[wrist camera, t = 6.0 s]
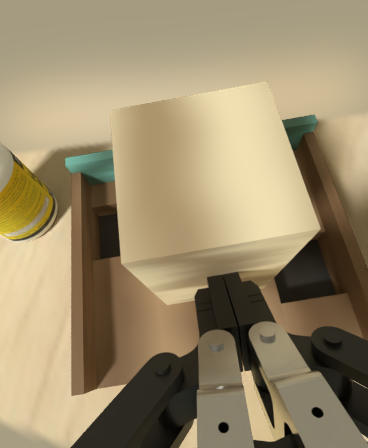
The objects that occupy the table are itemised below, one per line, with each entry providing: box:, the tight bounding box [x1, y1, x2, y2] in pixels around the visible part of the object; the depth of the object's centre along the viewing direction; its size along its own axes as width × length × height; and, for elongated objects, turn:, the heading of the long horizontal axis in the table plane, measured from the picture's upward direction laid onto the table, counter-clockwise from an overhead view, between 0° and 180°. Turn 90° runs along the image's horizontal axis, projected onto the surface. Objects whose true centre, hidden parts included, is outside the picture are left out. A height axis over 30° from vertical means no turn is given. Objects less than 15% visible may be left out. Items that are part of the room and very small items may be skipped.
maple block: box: [110, 82, 321, 305], centre depth 16 cm, size 6×6×11 cm
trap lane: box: [65, 115, 368, 396], centre depth 20 cm, size 18×15×5 cm
